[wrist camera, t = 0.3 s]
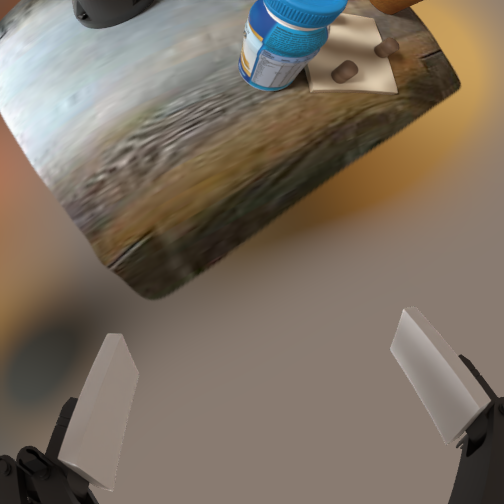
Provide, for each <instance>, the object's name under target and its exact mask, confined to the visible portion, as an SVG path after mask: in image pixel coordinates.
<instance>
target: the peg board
mask: <svg viewBox="0 0 504 504" xmlns="http://www.w3.org/2000/svg"><path fill="white" fill-rule="evenodd" d="M397 50H399V44H398V43H397V41H396V40H395V39H393V38H390V37H389V38H387V39H386V40H384V41H383V42H382V40H381V37H380V34H379V32H378V29H377V26H376V24H375V22H374V19H372V18H367V17H361V16H356V15H349V14H343V13H341V14H340V15H339V16H338V17H337V18H336V19H335V20H334V21H333V22H332V23H331V24H330V34H329V37H328V40H327V41H326V43H325V44H324V45H323V46H322V47H321V49H320V51H319V52H318V54H317V55H316V56H315V57H314V58H313V59H312V60H311V61H309V62H308V63H307V64H306V66H305V67H304V68H305V72H306V76H307V80H308V84H309V88H310V93H317V92H352V93H374V94H388V95H394V94H397V93H398V91H397V87H396V84H395V80H394V76H393V73H392V70H391V66H390V63H389V60H388V57H387V56H389V55H390V54H392V53H394V52H395V51H397Z"/></svg>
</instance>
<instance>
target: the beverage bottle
mask: <svg viewBox="0 0 504 504" xmlns="http://www.w3.org/2000/svg"><path fill="white" fill-rule="evenodd" d="M347 1H348V0H257V1H256V2H255V3H254V5H253V6H252V7H251V9H250V11H249V15H248V19H247V21H246V24H245V27H244V40H243V46H242V51H241V55H240V58H239V71H240V74H241V76H242V77H243V79H244V80H245V81H246V82H247V83H248V84H249V85H251V86H253V87H254V88H257V89H259V90H263V91H277V90H281V89H283V88H285V87H287V86H288V85H290V84H291V83H292V82H293V80H294V79H295V77H296V76H297V75H298V74H299V73H300V71H301V70H302V69H303V68H304V67H305V66H306V64H307V63H308V62H309V61H311V60H312V59H313V58H314V57H315V56H316V55H317V54H318V52H319V51H320V49H321V47H322V46H323V45H324V44H325V43H326V41H327V40H328V37H329V34H330V24H331V23H332V22H333V21H334V20H335V19H336V18H337V17H338V16H339V15H340V14H341V13H342V11H343V10H344V9H345V6H346V4H347Z"/></svg>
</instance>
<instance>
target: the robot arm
mask: <svg viewBox="0 0 504 504" xmlns="http://www.w3.org/2000/svg"><path fill="white" fill-rule="evenodd" d="M152 2H153V0H72V4H73V9H74V14H75V16H76V18H77V19H78V20H79V21H80V23H81V24H82V25H84V26H85V27H88V28H94V29H99V28H106V27H110V26H114V25H117V24H119V23H122V22H124V21H126V20H128V19H130V18H132V17H133V16H135V15H137V14H138V13H140V12H141V11H143V10H144V9H145V8H146V7H147V6H149V5H150V4H151V3H152ZM390 350H391V352H392V354H393V355H394V357H395V358H396V360H397V361H398V363H399V365H400V366H401V368H402V369H403V371H404V373H405V374H406V376H407V377H408V379H409V381H410V382H411V384H412V386H413V387H414V389H415V391H416V392H417V394H418V395H419V397H420V399H421V401H422V402H423V404H424V406H425V408H426V409H427V411H428V413H429V415H430V416H431V418H432V420H433V422H434V423H435V425H436V427H437V429H438V431H439V433H440V434H441V436H442V438H443V440H444V442H445V444H446V445H447V444H449V443H451V442H452V441H454V440H456V439H457V438H459V437H460V436H461V435H462V434H463V433H464V431H466V433H467V434H466V435H465V436H464V437H463V438H462V439H461V440H460V441H459V443H458V444H457V446H456V448H458V447H459V446H460V445H461V444H462V443H463V445H462V446H461V449H462V454H461V459H460V463H459V467H458V472H457V476H456V480H455V483H454V487H453V490H452V493H451V497H450V500H449V503H448V504H504V397H500V398H498V397H497V396H496V394H495V393H494V392H493V390H492V389H491V388H490V386H489V385H488V384H487V382H486V381H485V380H484V378H483V377H482V376H481V375H480V373H479V372H478V370H477V369H475V367H474V365H473V364H472V363H471V362H470V360H468V359H467V358H465V357H464V356H463V355H459V356H458V355H457V354H456V353H455V352H454V351H453V349H452V348H451V347H450V346H449V344H448V343H447V342H446V341H445V340H444V338H443V337H442V336H441V335H440V334H439V333H438V331H437V330H436V329H435V328H434V327H433V326H432V324H431V323H430V322H429V321H428V320H427V319H426V318H425V316H424V315H423V314H422V313H421V312H420V311H419V310H418V309H417V308H416V307H415V306H414V307H409V308H404V309H403V312H402V316H401V319H400V322H399V325H398V328H397V331H396V334H395V337H394V340H393V342H392V345H391V348H390ZM138 377H139V372H138V371H137V368H136V366H135V364H134V361H133V359H132V357H131V354H130V352H129V350H128V348H127V345H126V342H125V340H124V337H123V335H122V334H112V333H108V334H107V336H106V338H105V340H104V342H103V344H102V346H101V348H100V350H99V353H98V355H97V357H96V359H95V361H94V364H93V366H92V368H91V370H90V373H89V375H88V378H87V380H86V382H85V384H84V387H83V389H82V392H81V394H80V397H79V399H77V398H72V397H71V398H70V399H69V400H68V401H67V402H66V403H65V404H64V406H63V407H62V410H61V413H60V415H59V416H60V417H59V418H58V420H57V422H56V426H55V428H54V431H53V433H52V436H51V439H50V442H49V445H48V447H47V450H46V453H45V455H44V454H43V453H41V452H40V451H39V450H38V449H37V448H35V447H33V446H26V447H24V448H22V449H21V450H20V451H19V453H18V455H17V459H16V461H17V462H16V461H15V460H14V459H13V458H11V457H10V456H8V455H2V456H0V504H99V503H98V502H97V500H96V498H95V496H94V495H93V493H92V491H91V490H90V489H89V488H88V486H89V483H91V484H93V485H94V486H96V487H98V488H102V489H105V490H109V491H113V489H114V484H115V478H116V472H117V467H118V462H119V456H120V452H121V447H122V442H123V437H124V433H125V428H126V424H127V420H128V416H129V412H130V407H131V404H132V400H133V396H134V392H135V388H136V385H137V381H138ZM27 497H28V498H27Z"/></svg>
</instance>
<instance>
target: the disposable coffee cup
mask: <svg viewBox="0 0 504 504" xmlns="http://www.w3.org/2000/svg"><path fill="white" fill-rule="evenodd" d="M420 1H423V0H370V2H371V3H372V4H373V5H374V6H375V7H376V8H377V9H378V10H380V11H382V12H383V13H386V14H390V15H392V14H395V13H397V12H399V11H401V10H403V9H405V8H407V7H409V6H412V5H414V4H416V3H418V2H420Z"/></svg>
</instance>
